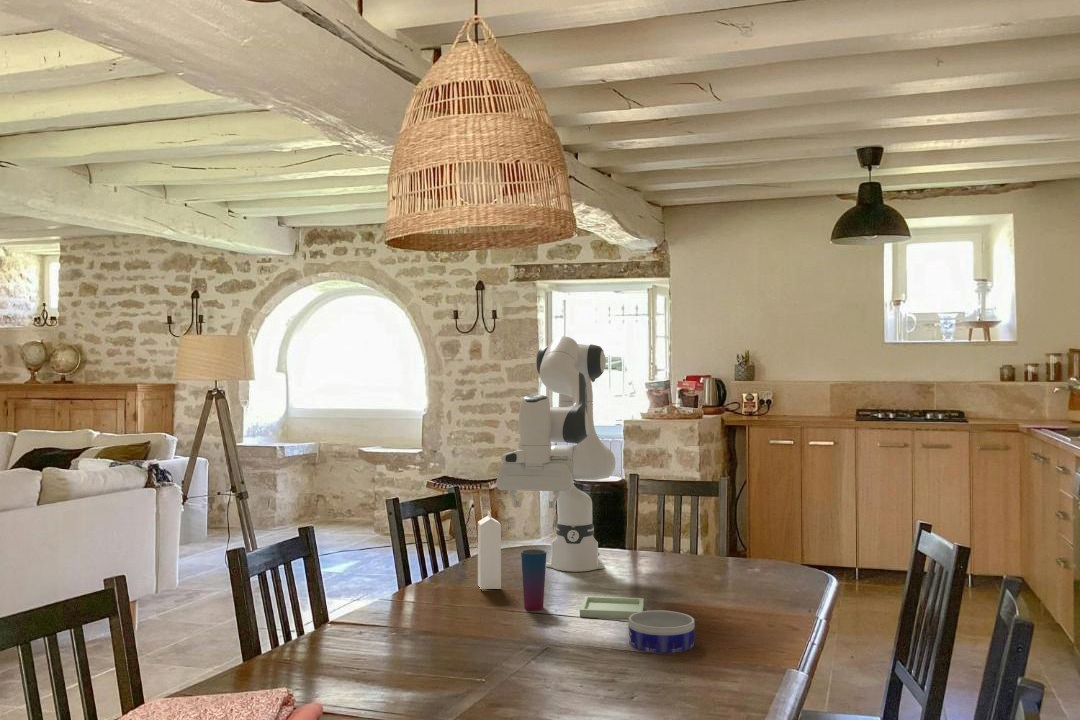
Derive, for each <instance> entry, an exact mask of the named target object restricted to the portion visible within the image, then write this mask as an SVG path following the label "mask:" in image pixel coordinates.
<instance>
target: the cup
mask: <svg viewBox="0 0 1080 720" xmlns="http://www.w3.org/2000/svg"><path fill="white" fill-rule="evenodd" d="M520 557H521V558H520V559H521V573H522V574H521V576H522V587H523V589H522V591H523V606H524V609H525V610H528V611H540V610H542V609H544V599H545V597H544V596H545V586H546V585H545V581H546V568H547V567H546V563H547V550H545V549H541V548H527V549H522V550H521V551H520Z"/></svg>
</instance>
